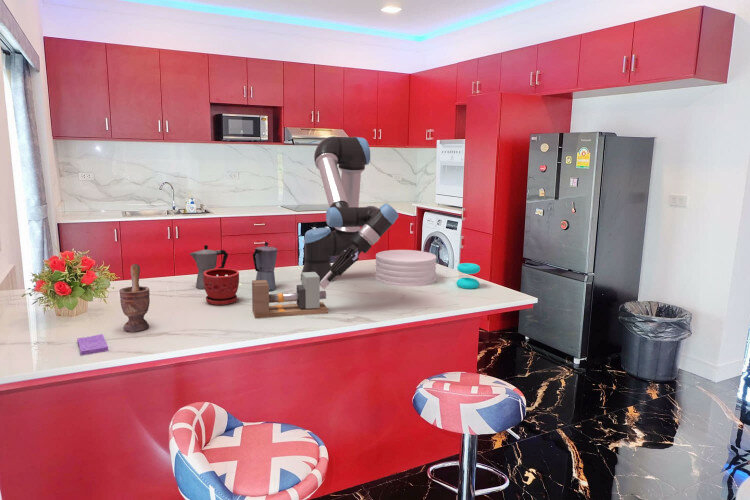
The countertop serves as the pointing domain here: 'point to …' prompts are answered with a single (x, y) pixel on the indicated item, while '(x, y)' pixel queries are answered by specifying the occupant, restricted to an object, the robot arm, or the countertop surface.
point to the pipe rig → (263, 299)
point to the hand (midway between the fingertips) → (321, 286)
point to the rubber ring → (301, 296)
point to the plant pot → (221, 285)
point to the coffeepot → (207, 262)
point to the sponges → (92, 344)
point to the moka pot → (265, 264)
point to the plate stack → (405, 268)
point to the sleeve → (311, 289)
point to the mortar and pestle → (135, 302)
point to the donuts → (468, 269)
